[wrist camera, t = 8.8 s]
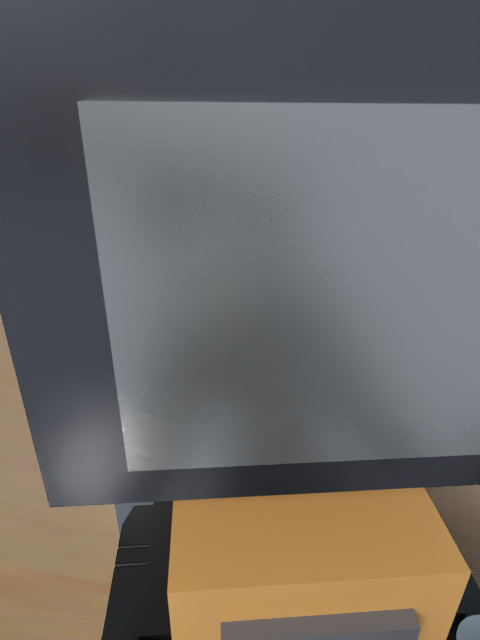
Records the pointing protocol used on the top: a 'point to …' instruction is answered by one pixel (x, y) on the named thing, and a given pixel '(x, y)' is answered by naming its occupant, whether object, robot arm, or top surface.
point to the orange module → (313, 568)
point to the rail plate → (242, 244)
